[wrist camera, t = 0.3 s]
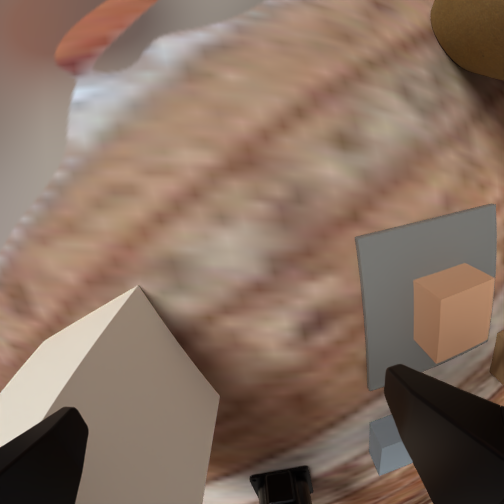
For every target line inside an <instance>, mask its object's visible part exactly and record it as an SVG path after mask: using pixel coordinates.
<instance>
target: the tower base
mask: <svg viewBox="0 0 504 504" xmlns="http://www.w3.org/2000/svg"><path fill="white" fill-rule="evenodd" d="M355 242H356V249H357V257H358V265H359V273H360V282H361V291H362V302H363V313H364V325H365V340H366V359H367V387H368V389H369V391H372V390H375V389H378V388H381V387H384V386H385V373H386V369H387V368H388V367H390V366H393V365H396V364H403V365H405V366H408V367H410V368H412V369H414V370H417V371H419V372H423V371H426V370H428V369H431V368H433V367H435V366H438V365H440V364H442V363H444V362H447V361H449V360H451V359H453V358H455V357H457V356H459V355H462V354H464V353H466V352H468V351H470V350H472V349H474V348H476V347H478V346H480V345H482V344H483V343H485V342H487V341H488V336H489V330H490V323H491V316H492V307H493V298H494V287H495V273H496V244H497V232H496V204H487V205H483V206H479V207H475V208H471V209H468V210H463V211H459V212H455V213H451V214H447V215H443V216H439V217H435V218H431V219H427V220H423V221H419V222H415V223H411V224H407V225H403V226H399V227H394V228H390V229H386V230H382V231H378V232H374V233H370V234H366V235H361V236H357V237H355Z"/></svg>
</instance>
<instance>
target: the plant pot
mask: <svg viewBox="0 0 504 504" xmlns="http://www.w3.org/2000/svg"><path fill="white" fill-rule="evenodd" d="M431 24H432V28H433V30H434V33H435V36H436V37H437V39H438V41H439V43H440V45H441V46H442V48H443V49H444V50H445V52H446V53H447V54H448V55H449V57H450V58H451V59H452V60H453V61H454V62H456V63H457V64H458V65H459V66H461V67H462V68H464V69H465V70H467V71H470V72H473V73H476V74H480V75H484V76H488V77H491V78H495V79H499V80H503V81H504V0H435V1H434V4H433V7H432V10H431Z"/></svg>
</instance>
